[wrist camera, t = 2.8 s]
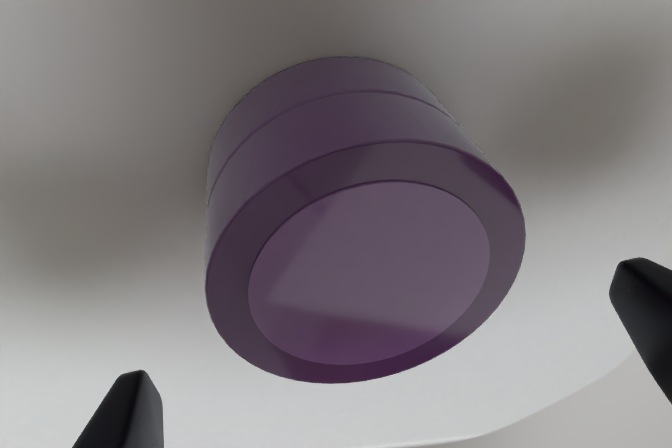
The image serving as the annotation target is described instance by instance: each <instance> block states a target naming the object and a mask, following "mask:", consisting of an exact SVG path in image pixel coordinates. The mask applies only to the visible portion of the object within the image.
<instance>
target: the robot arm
mask: <svg viewBox="0 0 672 448" xmlns="http://www.w3.org/2000/svg"><path fill="white" fill-rule="evenodd" d="M609 296H610V300H611V303H612V305H613V307H614V308H615V310H616V312H617V314H618V316H619V318H620V319H621V321H622V323H623V325H624V327H625V328H626V330H627V332H628V334H629V336H630V338H631V339H632V341H633V343H634V345H635V347H636V349H637V350H638V352H639V354H640V356H641V358H642V359H643V361H644V363H645V365H646V366H647V368H648V370H649V371H650V373H651V374H652V376H653V378H654V379H655V381H656V382H657V384H658V385H659V386H660V388H661V389H662V391H663V392H664V393H665V395H666V397H667V398H668V400H669V401H670V402H671V404H672V270H670V269H668V268H665V267H663V266H661V265H659V264H657V263H655V262H652V261H650V260H648V259H645V258H640V257H639V258H633V259H629V260H625V261H622V262H620V263H619V264H618V266H617V268H616V271H615V274H614V277H613V280H612V283H611V286H610V290H609ZM72 448H164V435H163V407H162V400H161V397H160V394H159V392H158V391H157V389H156V387H155V386H154V384H153V382H152V381H151V379H150V377H149V376H148V374H147V373H146V372H145V371H144V370H138V371H133V372H129V373H124V374H122V375H120V376H119V377H118V378H117V380H116V381H115V383H114V384H113V386H112V387H111V389H110V390H109V392H108V393H107V395H106V396H105V398H104V399H103V401H102V402H101V404H100V406H99V407H98V409H97V410H96V412H95V413H94V415H93V416H92V418H91V419H90V421H89V422H88V424H87V425H86V427H85V429H84V430H83V432H82V433H81V435H80V436H79V438H78V439H77V441H76V442H75V444H74V445H73V447H72Z"/></svg>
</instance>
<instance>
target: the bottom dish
mask: <svg viewBox="0 0 672 448" xmlns="http://www.w3.org/2000/svg"><path fill="white" fill-rule="evenodd" d="M350 93H386V94H393V95H400V96H404V97H407V98H411V99H414V100H418V101H420V102H423V103H425V104H427V105H429V106H432V107H434V108H436V109H437V110H439V111H441V112H442V113H444V114H445V115H447V116H448V117H450V118H451V119H452V120H453V121H454V122H455V123H457V122H456V121H455V119H454V118H453V117H452V116H451V115H450V113H449V112H448V111H447V110H446V109H445V108H444V106H443V105H442V104H441V103H440V102H439V100H438V99H437V98H436V97H435V96H434V95H433V93H432V92H431V91H430V90H429V89H428V88H427V87H426V86H424V85H423V84H422V83H421V82H420V81H419V80H417V79H416V78H414V77H413V76H411V75H410V74H408V73H407V72H405V71H403V70H401V69H399V68H397V67H394V66H392V65H390V64H386V63H383V62H380V61H376V60H372V59H365V58H359V57H332V58H324V59H317V60H313V61H309V62H305V63H301V64H298V65H296V66H293V67H291V68H288V69H286V70H283V71H281V72H279V73H277V74H276V75H274V76H272V77H270V78H268V79H267V80H265V81H264V82H262V83H261V84H259V85H258V86H257V87H255V88H254V89H253V90H251V91H250V92H249V93H248V94H247V95H246V96H245V97H244V98H243V99H242V100H241V101H240V102H239V103H238V104H237V105H236V106H235V107H234V109H233V110H232V111H231V112H230V114H229V115H228V116H227V117H226V119H225V121H224V122H223V124H222V126H221V128H220V129H219V131H218V133H217V135H216V138H215V140H214V143H213V146H212V148H211V153H210V157H209V161H208V171H207V203H206V220H207V210H208V206H209V201H210V197H211V194H212V191H213V189H214V187H215V184H216V182H217V180H218V177H219V176H220V174H221V172H222V171H223V169H224V168H225V166H226V164H227V163H228V161H229V160H230V159H231V158H232V156H233V155H234V154H235V153H236V151H237V150H238V149H239V148H240V147H241V146H242V145H243V144H244V143H245V142H246V141H247V140H248V139H249V138H250V137H251V136H252V135H253V134H255V133H256V132H257V131H258V130H260V129H261V128H263V127H264V126H265V125H267V124H268V123H270V122H271V121H272V120H274V119H276V118H277V117H279V116H281V115H283V114H285V113H287V112H289V111H290V110H292V109H294V108H297V107H300V106H302V105H305V104H307V103H310V102H312V101H315V100H319V99H323V98H327V97H331V96H335V95H342V94H350ZM457 124H458V123H457ZM458 125H459V124H458ZM459 126H460V125H459Z"/></svg>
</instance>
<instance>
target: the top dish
mask: <svg viewBox="0 0 672 448" xmlns="http://www.w3.org/2000/svg"><path fill="white" fill-rule="evenodd" d="M525 237H526V234H525V223H524V217H523V213H522V209H521V206H520V203H519V201H518V199H517V197H516V195H515V193H514V191H513V189H512V188H511V186H510V185H509V184H508V183H507V181H506V180H505V179H504V177H503V176H502V175H501V174H500V173H499V171H498V170H497V169H496V168H495V167H494V165H493V164H492V163H491V162H490V161H489V160H488V158H487V157H486V156H485V155H484V154H483V152H482V151H481V150H480V149H479V148H478V147H477V145H476V144H475V143H474V142H473V141H472V139H471V138H470V137H469V136H468V135H467V134H466V132H465V131H464V130H463V129H462V128H461V127H460V126H459V125H458V124H457V123H455V122H454V121H453V120H452V119H451V118H450V117H448V116H447V115H445V114H444V113H442V112H441V111H439V110H437V109H436V108H434V107H432V106H429V105H427V104H425V103H423V102H420V101H418V100H414V99H411V98H407V97H404V96H400V95H393V94H386V93H350V94H342V95H335V96H331V97H327V98H323V99H319V100H315V101H312V102H310V103H307V104H305V105H302V106H300V107H297V108H294V109H292V110H290V111H289V112H287V113H285V114H283V115H281V116H279V117H277V118H276V119H274V120H272V121H271V122H270V123H268V124H267V125H265V126H264V127H263V128H261V129H260V130H258V131H257V132H256V133H255V134H253V135H252V136H251V137H250V138H249V139H248V140H247V141H246V142H245V143H244V144H243V145H242V146H241V147H240V148H239V149H238V150H237V151H236V153H235V154H234V155H233V156H232V158H231V159H230V160H229V161H228V163H227V164H226V166H225V168H224V169H223V171H222V172H221V174H220V176H219V177H218V180H217V182H216V184H215V187H214V189H213V191H212V194H211V197H210V201H209V206H208V210H207V220H206V250H205V295H206V304H207V307H208V311H209V314H210V317H211V320H212V322H213V323H214V325H215V327H216V329H217V331H218V333H219V334H220V336H221V337H222V338H223V339H224V341H225V342H226V343H227V345H228V346H229V347H230V348H232V349H233V350H234V351H235V352H236V353H237V354H238V355H239V356H241V357H242V358H243V359H245V360H246V361H248V362H249V363H251V364H252V365H254V366H256V367H258V368H260V369H262V370H264V371H266V372H269V373H272V374H275V375H278V376H280V377H284V378H288V379H292V380H296V381H303V382H310V383H326V384H335V383H352V382H360V381H367V380H372V379H377V378H382V377H385V376H389V375H393V374H396V373H399V372H402V371H405V370H408V369H411V368H413V367H416V366H418V365H420V364H422V363H425V362H427V361H429V360H431V359H433V358H435V357H437V356H439V355H440V354H442V353H444V352H446V351H447V350H449V349H451V348H452V347H454V346H455V345H457V344H458V343H460V342H461V341H462V340H464V339H465V338H466V337H468V336H469V335H470V334H471V333H473V332H474V331H475V330H476V329H477V328H478V327H479V326H480V325H482V324H483V323H484V322H485V321H486V320H487V319H488V318H489V316H490V315H491V314H492V313H493V312H494V311H495V310H496V309H497V307H498V306H499V305H500V303H501V302H502V300H503V299H504V298H505V296H506V295H507V293H508V292H509V290H510V288H511V286H512V284H513V283H514V281H515V278H516V276H517V273H518V271H519V268H520V266H521V262H522V258H523V254H524V249H525Z"/></svg>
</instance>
